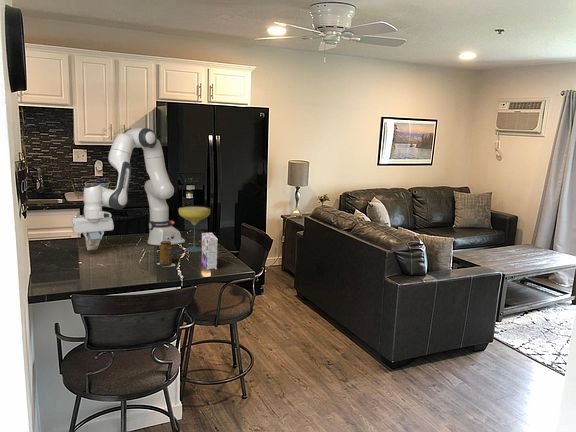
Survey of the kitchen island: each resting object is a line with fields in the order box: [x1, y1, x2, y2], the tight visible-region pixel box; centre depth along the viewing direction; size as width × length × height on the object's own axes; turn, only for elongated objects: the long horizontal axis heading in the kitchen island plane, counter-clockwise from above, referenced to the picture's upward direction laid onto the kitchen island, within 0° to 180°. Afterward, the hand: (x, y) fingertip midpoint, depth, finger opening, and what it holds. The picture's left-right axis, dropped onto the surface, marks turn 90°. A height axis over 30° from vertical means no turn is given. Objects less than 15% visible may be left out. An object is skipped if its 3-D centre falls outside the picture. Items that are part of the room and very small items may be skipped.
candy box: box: [201, 232, 219, 271], centre depth 236 cm, size 14×6×16 cm, turn 21°
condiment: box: [156, 241, 177, 268], centre depth 236 cm, size 7×8×12 cm
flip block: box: [84, 232, 102, 251], centre depth 243 cm, size 5×5×11 cm
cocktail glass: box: [178, 204, 211, 253], centre depth 266 cm, size 18×18×25 cm
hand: (93, 240), depth 242 cm, fingers closed on flip block, 5 cm apart
